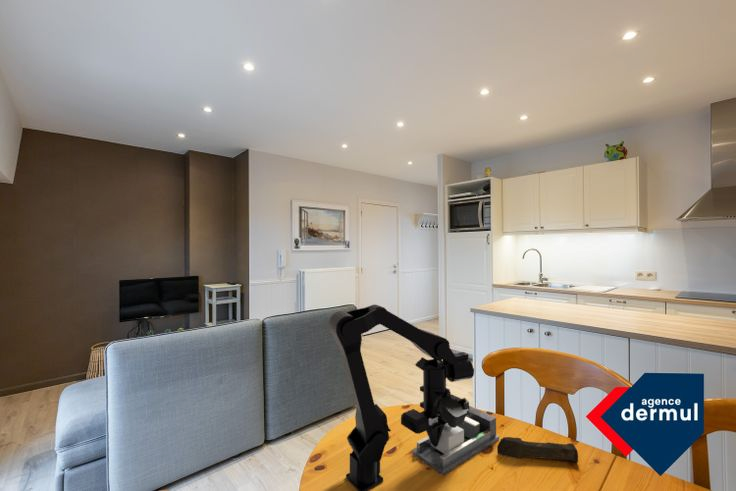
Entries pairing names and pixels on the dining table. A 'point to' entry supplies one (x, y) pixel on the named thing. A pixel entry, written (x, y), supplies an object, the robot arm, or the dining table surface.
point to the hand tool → (536, 449)
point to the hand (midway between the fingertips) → (434, 445)
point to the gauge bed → (463, 451)
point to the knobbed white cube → (450, 438)
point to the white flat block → (470, 428)
